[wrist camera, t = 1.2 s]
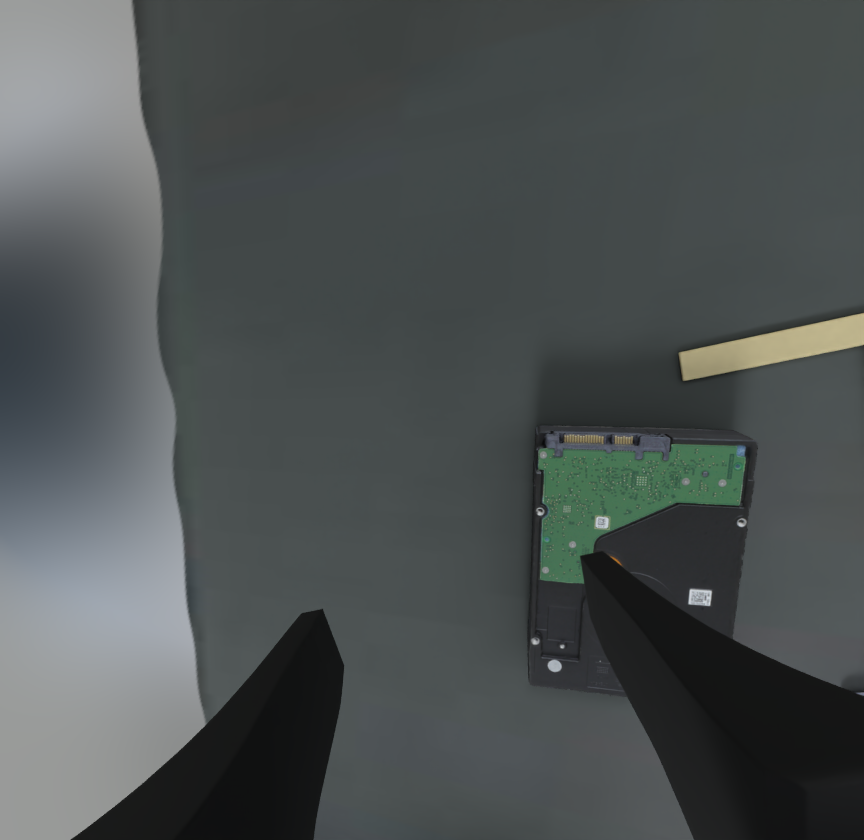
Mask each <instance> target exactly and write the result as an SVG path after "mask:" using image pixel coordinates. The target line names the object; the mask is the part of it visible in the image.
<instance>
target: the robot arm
mask: <svg viewBox="0 0 864 840" xmlns="http://www.w3.org/2000/svg"><path fill="white" fill-rule="evenodd" d="M580 560H581V566H582V572H583V578H584V584H585V590H586V597H587V603H588V609H589V615H590V619H591V621H592V624H593V626H594V629H595V631H596V634H597V636H598V639H599V641H600V644H601V646H602V649H603V651H604V653H605V655H606V657H607V659H608V661H609V663H610V665H611V667H612V669H613V671H614V673H615V674H616V676H617V678H618V680H619V682H620V684H621V686H622V688H623V690H624V691H625V693H626V695H627V697H628V699H629V701H630V703H631V704H632V706H633V708H634V710H635V712H636V714H637V716H638V718H639V719H640V721H641V723H642V725H643V727H644V729H645V731H646V733H647V734H648V736H649V738H650V740H651V742H652V744H653V746H654V748H655V750H656V752H657V754H658V756H659V759H660V761H661V763H662V765H663V768H664V770H665V772H666V775H667V777H668V779H669V782H670V784H671V786H672V789H673V791H674V793H675V795H676V798H677V800H678V802H679V805H680V807H681V809H682V812H683V814H684V817H685V819H686V821H687V824H688V826H689V828H690V831H691V833H692V836H693V838H694V840H864V692H861V693H854V692H851V691H849V690H846V689H844V688H841V687H838V686H836V685H833V684H831V683H828V682H825V681H823V680H820V679H818V678H815V677H813V676H810V675H808V674H805V673H803V672H801V671H798V670H796V669H793V668H791V667H789V666H787V665H784V664H782V663H780V662H778V661H776V660H774V659H771V658H769V657H767V656H765V655H763V654H761V653H758V652H756V651H754V650H752V649H750V648H748V647H746V646H744V645H742V644H740V643H738V642H736V641H735V640H733V639H731V638H729V637H727V636H725V635H724V634H722V633H720V632H718V631H716V630H714V629H712V628H711V627H709V626H707V625H706V624H704V623H702V622H701V621H699V620H697V619H696V618H694V617H693V616H691V615H690V614H688V613H686V612H685V611H683V610H682V609H680V608H679V607H677V606H676V605H674V604H673V603H671V602H670V601H668V600H667V599H665V598H664V597H663V596H661V595H660V594H658V593H657V592H656V591H654V590H653V589H651V588H650V587H649V586H647V585H646V584H645V583H643V582H642V581H641V580H639V579H638V578H637V577H635V576H634V575H633V574H631V573H630V572H629V571H628V570H626V569H625V568H624V567H623V566H621V565H620V564H619V563H618V562H616V561H615V560H614V559H613V558H611V557H610V556H609V555H608V554H606V553H605V552H603V551H600V552H595V553H590V554H585V555H581V556H580ZM343 674H344V664H343V661H342V659H341V656H340V653H339V651H338V648H337V646H336V643H335V640H334V638H333V635H332V632H331V630H330V627H329V625H328V622H327V619H326V617H325V614H324V611H323V609H320V610H316V611H311V612H306V613H302V614H301V615H300V616H299V617H298V618H297V619H296V621H295V622H294V623H293V624H292V625H291V627H290V628H289V629H288V630H287V632H286V633H285V634H284V635H283V637H282V638H281V639H280V640H279V642H278V643H277V644H276V645H275V647H274V648H273V649H272V650H271V652H270V653H269V654H268V655H267V656H266V658H265V659H264V660H263V661H262V663H261V664H260V665H259V666H258V667H257V669H256V670H255V671H254V672H253V674H252V675H251V676H250V677H249V678H248V679H247V680H246V682H245V683H244V684H243V685H242V686H241V687H240V688H239V690H238V691H237V692H236V693H235V694H234V695H233V696H232V697H231V699H230V700H229V701H228V702H227V703H226V704H225V705H224V707H223V708H222V709H221V710H220V711H219V712H218V713H217V714H216V715H215V716H214V717H213V718H212V719H211V720H210V721H209V722H208V723H207V724H206V726H205V727H204V728H203V729H201V730H200V731H199V733H197V734H196V735H195V736H194V737H193V738H192V740H190V741H189V742H188V743H187V744H186V745H185V746H184V747H183V748H182V749H181V750H180V751H179V752H178V753H177V754H176V755H174V756H173V757H172V758H171V759H170V760H169V761H168V762H167V763H165V764H164V765H163V766H162V767H161V768H160V769H159V770H157V771H156V772H155V773H154V774H153V775H152V776H151V777H150V778H148V779H147V780H146V781H145V782H144V783H143V784H142V785H141V786H139V787H138V788H137V789H136V790H134V791H133V792H132V793H131V794H129V795H128V796H127V797H126V798H125V799H123V800H122V801H121V802H120V803H118V804H117V805H116V806H115V807H113V808H112V809H111V810H109V811H108V812H107V813H106V814H104V815H103V816H102V817H100V818H99V819H98V820H97V821H95V822H94V823H93V824H91V825H90V826H89V827H87V828H86V829H85V830H83V831H82V832H81V833H79V834H78V835H77V836H75V837H74V838H72V839H71V840H313V839H314V831H315V824H316V817H317V812H318V806H319V801H320V796H321V791H322V787H323V782H324V778H325V773H326V769H327V764H328V760H329V756H330V751H331V747H332V742H333V738H334V733H335V728H336V724H337V719H338V714H339V709H340V704H341V695H342V686H343Z"/></svg>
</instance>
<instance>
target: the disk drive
mask: <svg viewBox="0 0 864 840" xmlns="http://www.w3.org/2000/svg"><path fill="white" fill-rule="evenodd" d="M535 435H536V438H535V456H534V457H535V459H534V463H533V485H534V487H533V520H532V547H531V577H530V579H531V581H530V607H529V620H528V678H529V683H530V685H533V686H539V687H547V688H558V689H566V690H567V689H570V690H577V691H584V692H591V693H599V694H604V695H610V696H611V695H615V696H620V697H627V695H626V693H625V691H624V690H623V688H622V686H621V684H620V682H619V680H618V678H617V676H616V674H615V673H614V671H613V669H612V667H611V665H610V663H609V661H608V659H607V657H606V655H605V653H604V651H603V649H602V646H601V644H600V641H599V639H598V636H597V634H596V631H595V629H594V626H593V624H592V621H591V619H590V615H589V609H588V603H587V597H586V590H585V584H584V578H583V572H582V566H581V560H580V556H581V555H585V554H590V553H595V552H600V551H603V552H605V553H606V554H608V555H609V556H610V557H611V558H613V559H614V560H615V561H616V562H618V563H619V564H620V565H621V566H623V567H624V568H625V569H626V570H628V571H629V572H630V573H631V574H633V575H634V576H635V577H637V578H638V579H639V580H641V581H642V582H643V583H645V584H646V585H647V586H649V587H650V588H651V589H653V590H654V591H656V592H657V593H658V594H660V595H661V596H663V597H664V598H665V599H667V600H668V601H670V602H671V603H673V604H674V605H676V606H677V607H679V608H680V609H682V610H683V611H685V612H686V613H688V614H690V615H691V616H693V617H694V618H696V619H697V620H699V621H701V622H702V623H704V624H706V625H707V626H709V627H711V628H712V629H714V630H716V631H718V632H720V633H722V634H724V635H725V636H727V637H729V638H731V639H733V629H734V622H735V616H736V608H737V600H738V590H739V582H740V578H741V573H742V572H741V568H742V565H743V560H742V558H743V555H744V552H745V550H744V547H745V539H746V535H747V530H748V529H747V524H748V516H749V509H750V507H751V502H752V494H753V488H754V477H753V476H754V470H755V464H756V457H757V449H758V445H757V444H758V443H757V441H755V440H753V439H751V438H749V437H747V436H745V435H743V434H741V433H738V432H736V431H733V430H703V429H672V428H630V427H625V428H624V427H587V426H544V425H540V426H537V428H536V434H535ZM627 698H628V697H627Z"/></svg>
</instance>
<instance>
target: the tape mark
mask: <svg viewBox="0 0 864 840" xmlns="http://www.w3.org/2000/svg"><path fill="white" fill-rule="evenodd" d="M861 345H864V313H861V314H856V315H851V316H847V317H842V318H837V319H833V320H828V321H823V322H819V323H814V324H809V325H805V326H800V327H795V328H791V329H786V330H781V331H777V332H772V333H767V334H763V335H758V336H753V337H749V338H744V339H739V340H735V341H730V342H725V343H721V344H716V345H711V346H706V347H702V348H697V349H692V350H688V351H683V352H679V353H678V354H679V361H680V368H681V374H682V381H687V380H692V379H697V378H702V377H707V376H712V375H717V374H722V373H727V372H732V371H737V370H742V369H747V368H752V367H757V366H762V365H767V364H772V363H777V362H782V361H787V360H792V359H797V358H802V357H807V356H812V355H817V354H821V353H826V352H831V351H836V350H841V349H846V348H851V347H856V346H861Z"/></svg>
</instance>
